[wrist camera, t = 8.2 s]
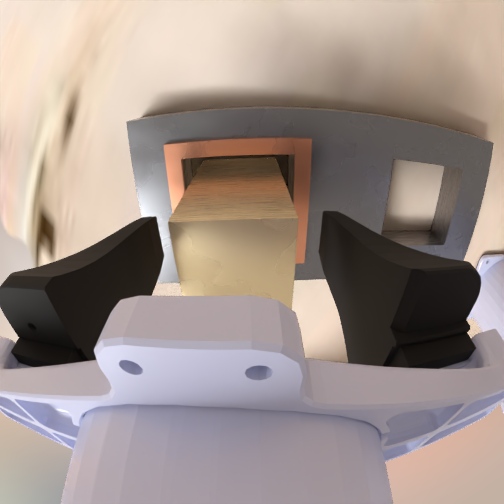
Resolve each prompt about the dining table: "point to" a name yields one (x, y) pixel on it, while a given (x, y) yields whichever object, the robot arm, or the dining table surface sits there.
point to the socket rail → (315, 170)
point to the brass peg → (236, 231)
